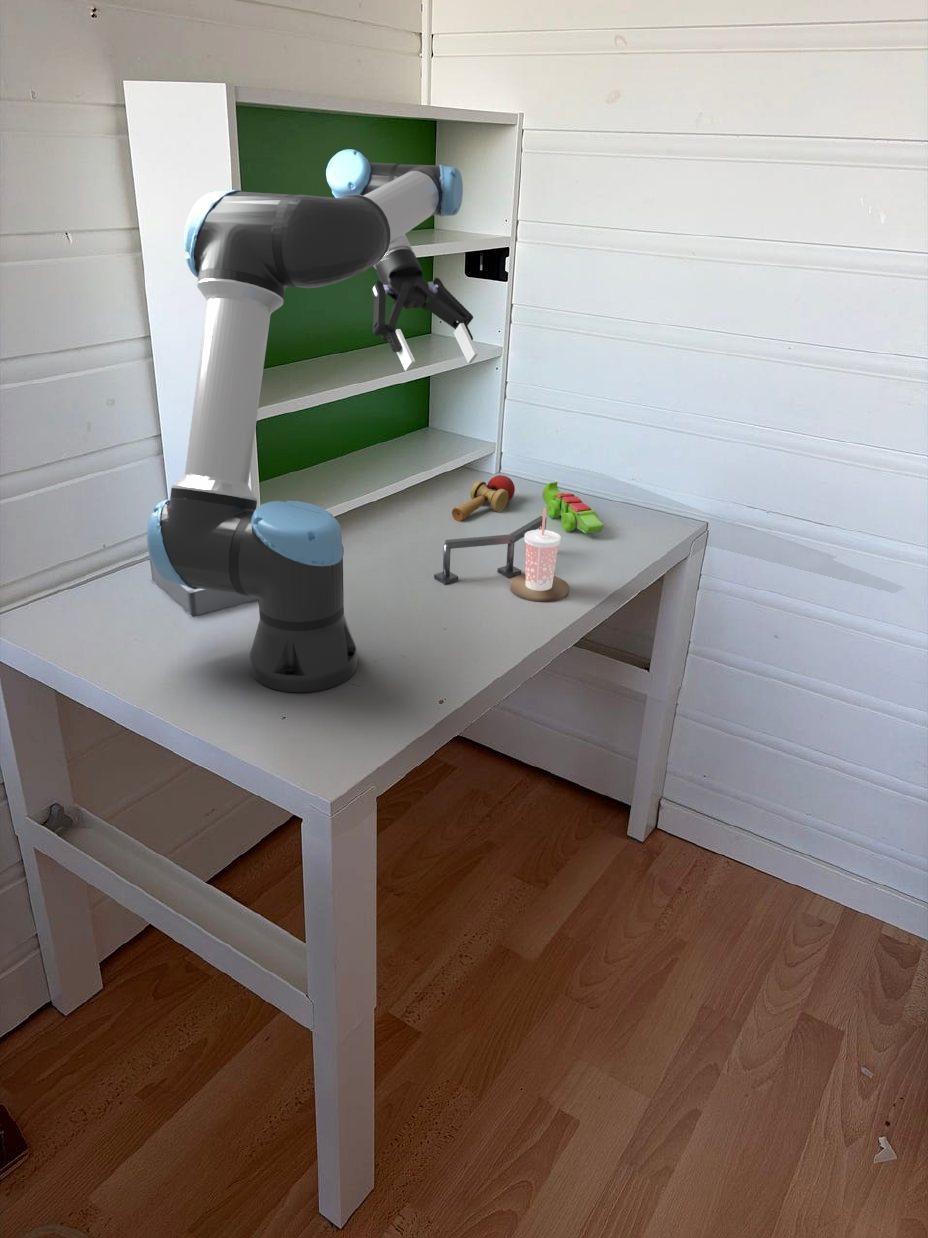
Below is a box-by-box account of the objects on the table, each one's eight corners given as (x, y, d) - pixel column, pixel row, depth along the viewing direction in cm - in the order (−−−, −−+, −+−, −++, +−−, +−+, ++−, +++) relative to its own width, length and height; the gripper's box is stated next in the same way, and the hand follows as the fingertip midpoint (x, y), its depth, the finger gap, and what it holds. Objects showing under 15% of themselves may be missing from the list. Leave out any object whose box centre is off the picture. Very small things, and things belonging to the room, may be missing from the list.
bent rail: (458, 592, 159) (459, 552, 155) (434, 578, 164) (435, 538, 160) (566, 560, 173) (570, 523, 169) (541, 548, 178) (544, 511, 174)
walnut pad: (536, 607, 155) (537, 602, 155) (498, 585, 162) (498, 581, 162) (580, 592, 160) (581, 588, 160) (541, 572, 167) (541, 568, 167)
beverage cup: (559, 580, 163) (566, 504, 156) (552, 594, 157) (559, 516, 151) (525, 575, 164) (530, 499, 158) (517, 589, 159) (522, 511, 153)
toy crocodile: (608, 539, 183) (611, 510, 181) (577, 543, 181) (579, 513, 179) (565, 506, 200) (568, 478, 197) (537, 508, 198) (538, 480, 195)
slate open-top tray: (192, 616, 148) (189, 593, 146) (152, 579, 159) (149, 557, 157) (270, 595, 155) (269, 573, 153) (227, 562, 167) (225, 541, 165)
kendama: (476, 532, 188) (526, 498, 200) (470, 503, 185) (521, 470, 197) (446, 529, 192) (496, 496, 204) (440, 500, 190) (491, 468, 201)
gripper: (441, 271, 177) (487, 367, 174) (326, 278, 163) (373, 382, 160) (459, 244, 171) (507, 342, 167) (341, 248, 157) (391, 356, 154)
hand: (442, 362), depth 164 cm, fingers open, 13 cm apart
